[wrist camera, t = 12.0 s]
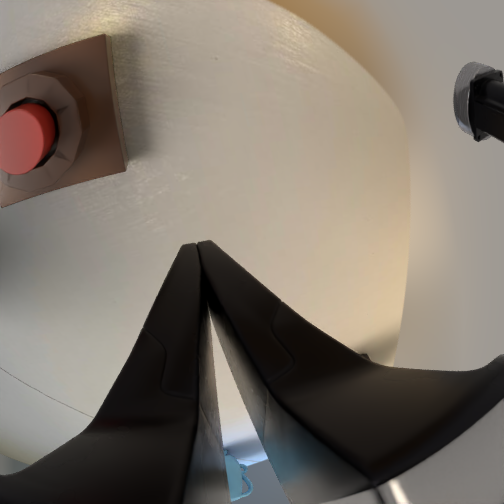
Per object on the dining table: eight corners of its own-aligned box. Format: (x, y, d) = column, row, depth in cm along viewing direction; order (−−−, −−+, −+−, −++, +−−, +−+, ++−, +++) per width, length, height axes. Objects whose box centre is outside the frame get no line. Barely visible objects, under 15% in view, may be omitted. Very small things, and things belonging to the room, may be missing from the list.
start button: (49, 93, 10) (36, 99, 9) (62, 152, 12) (51, 164, 11) (-1, 115, 9) (-17, 123, 8) (13, 169, 11) (0, 183, 10)
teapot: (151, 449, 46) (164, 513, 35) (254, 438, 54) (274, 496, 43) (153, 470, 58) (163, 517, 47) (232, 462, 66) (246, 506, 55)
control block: (110, 35, 11) (98, 30, 9) (128, 161, 16) (123, 184, 14) (-18, 86, 10) (-48, 97, 7) (10, 196, 15) (-10, 223, 12)
